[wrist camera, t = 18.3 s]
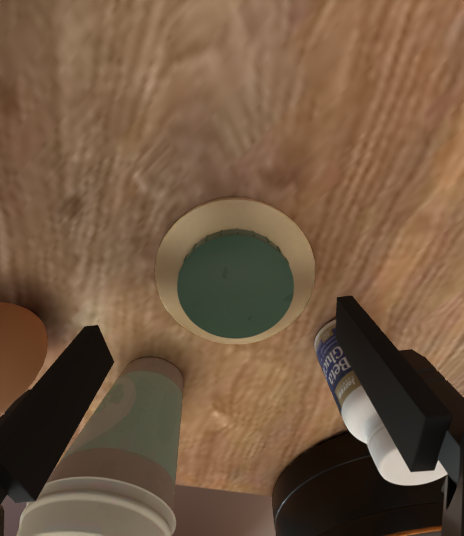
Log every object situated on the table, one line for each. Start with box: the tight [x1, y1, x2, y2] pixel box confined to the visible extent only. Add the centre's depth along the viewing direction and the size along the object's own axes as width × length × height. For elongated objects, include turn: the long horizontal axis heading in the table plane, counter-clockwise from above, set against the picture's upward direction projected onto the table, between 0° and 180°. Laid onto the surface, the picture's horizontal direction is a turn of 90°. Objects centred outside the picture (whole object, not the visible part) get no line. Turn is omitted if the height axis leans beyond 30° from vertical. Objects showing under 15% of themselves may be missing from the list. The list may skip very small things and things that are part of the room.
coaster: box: [155, 197, 315, 344], centre depth 19 cm, size 12×12×1 cm
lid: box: [177, 228, 294, 339], centre depth 18 cm, size 8×8×2 cm
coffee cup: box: [17, 357, 184, 536], centre depth 18 cm, size 8×8×12 cm
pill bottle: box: [314, 320, 447, 485], centre depth 17 cm, size 5×5×10 cm
